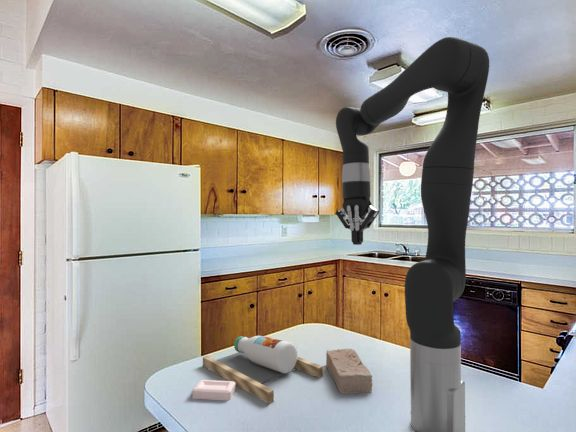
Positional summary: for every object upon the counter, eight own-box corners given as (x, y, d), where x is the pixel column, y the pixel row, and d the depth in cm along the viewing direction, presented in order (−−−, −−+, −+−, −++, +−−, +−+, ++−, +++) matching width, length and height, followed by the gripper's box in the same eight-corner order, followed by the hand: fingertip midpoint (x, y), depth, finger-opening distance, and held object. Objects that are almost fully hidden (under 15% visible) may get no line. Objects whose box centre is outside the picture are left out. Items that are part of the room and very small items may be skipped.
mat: (295, 368, 94) (295, 367, 94) (252, 388, 84) (252, 386, 84) (250, 349, 109) (250, 348, 109) (208, 363, 98) (208, 362, 98)
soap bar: (229, 402, 78) (229, 391, 78) (191, 399, 79) (191, 389, 79) (236, 390, 84) (236, 380, 84) (200, 388, 85) (200, 378, 85)
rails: (322, 376, 90) (322, 366, 90) (268, 403, 77) (268, 392, 77) (255, 347, 110) (255, 340, 110) (202, 365, 97) (202, 357, 97)
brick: (374, 393, 82) (374, 373, 82) (339, 395, 81) (339, 375, 81) (353, 364, 98) (353, 347, 98) (325, 365, 98) (325, 349, 98)
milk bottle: (275, 359, 87) (225, 344, 100) (286, 380, 89) (236, 362, 103) (291, 336, 92) (242, 325, 105) (301, 357, 94) (252, 343, 108)
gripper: (385, 180, 92) (386, 244, 92) (344, 184, 101) (345, 242, 101) (370, 177, 86) (371, 246, 86) (328, 182, 96) (329, 244, 95)
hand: (357, 244), depth 93 cm, fingers closed
